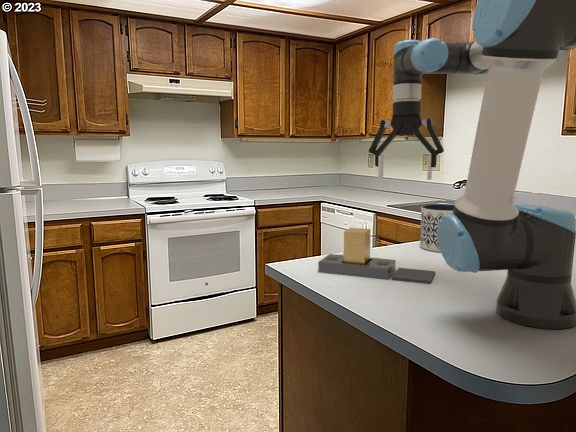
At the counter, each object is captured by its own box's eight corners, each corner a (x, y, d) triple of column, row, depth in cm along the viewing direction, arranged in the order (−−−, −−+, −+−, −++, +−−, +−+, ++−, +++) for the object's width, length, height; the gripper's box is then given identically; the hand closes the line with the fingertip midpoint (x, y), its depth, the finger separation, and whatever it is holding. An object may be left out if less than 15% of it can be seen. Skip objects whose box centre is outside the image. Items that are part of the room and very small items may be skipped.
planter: (446, 241, 167) (448, 203, 164) (478, 250, 152) (481, 208, 150) (410, 245, 161) (411, 205, 159) (440, 255, 146) (441, 211, 144)
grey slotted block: (395, 269, 130) (395, 259, 130) (387, 279, 121) (388, 268, 121) (329, 263, 138) (329, 253, 138) (318, 271, 129) (318, 261, 129)
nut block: (364, 274, 126) (364, 232, 124) (343, 272, 128) (344, 231, 126) (369, 269, 131) (370, 229, 129) (349, 267, 134) (350, 227, 132)
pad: (430, 284, 117) (430, 281, 116) (391, 279, 121) (391, 276, 121) (435, 273, 125) (435, 271, 125) (398, 270, 130) (398, 267, 130)
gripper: (456, 99, 121) (452, 178, 124) (366, 104, 132) (365, 176, 135) (453, 97, 114) (449, 181, 118) (358, 102, 125) (357, 178, 129)
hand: (404, 179), depth 126 cm, fingers open, 13 cm apart
